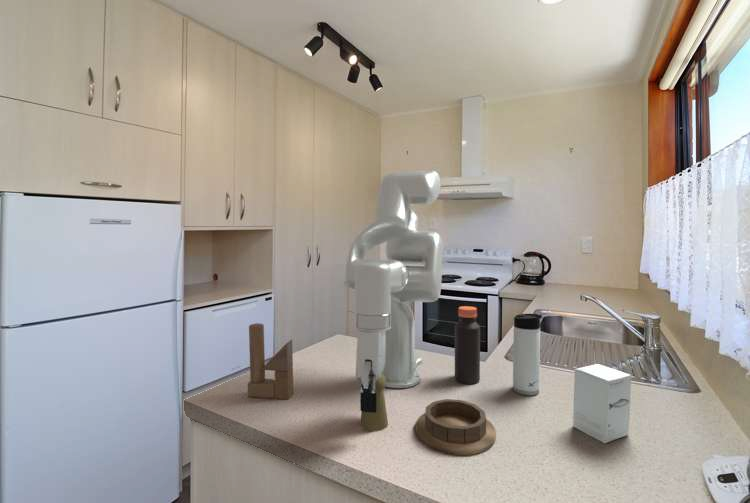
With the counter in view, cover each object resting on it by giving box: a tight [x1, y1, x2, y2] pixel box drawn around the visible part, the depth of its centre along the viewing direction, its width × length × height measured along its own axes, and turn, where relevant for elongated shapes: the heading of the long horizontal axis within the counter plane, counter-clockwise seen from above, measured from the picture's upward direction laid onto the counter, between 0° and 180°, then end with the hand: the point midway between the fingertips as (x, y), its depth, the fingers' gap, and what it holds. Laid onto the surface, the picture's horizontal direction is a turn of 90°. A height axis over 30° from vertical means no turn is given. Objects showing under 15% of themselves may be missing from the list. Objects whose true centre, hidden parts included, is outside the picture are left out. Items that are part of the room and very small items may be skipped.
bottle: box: [454, 305, 481, 385], centre depth 103 cm, size 7×7×20 cm
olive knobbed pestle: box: [359, 374, 389, 432], centre depth 80 cm, size 6×6×11 cm
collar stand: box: [415, 398, 497, 456], centre depth 77 cm, size 16×16×4 cm
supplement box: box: [572, 363, 632, 444], centre depth 76 cm, size 7×7×13 cm
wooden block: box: [247, 323, 294, 400], centre depth 94 cm, size 4×11×18 cm, turn 82°
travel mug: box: [512, 313, 543, 397], centre depth 95 cm, size 6×7×20 cm
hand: (372, 401), depth 79 cm, fingers open, 9 cm apart
